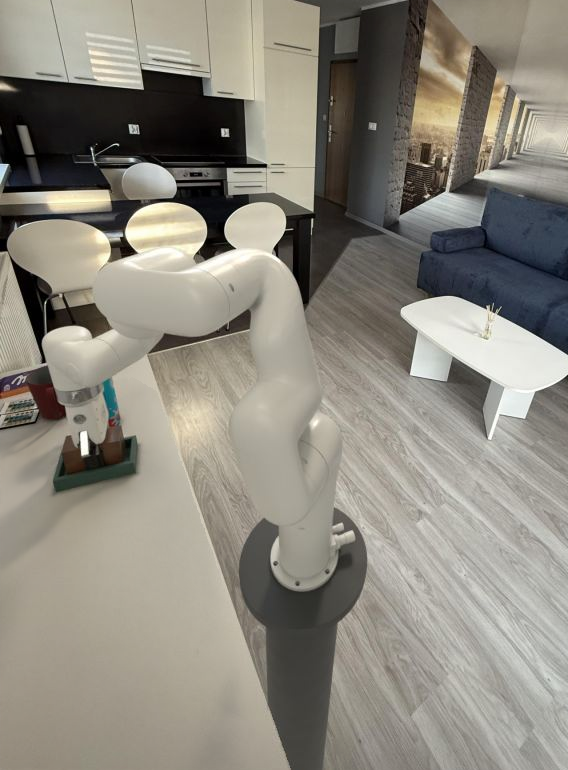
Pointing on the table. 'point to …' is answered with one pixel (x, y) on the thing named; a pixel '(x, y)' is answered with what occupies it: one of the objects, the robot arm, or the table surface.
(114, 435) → the walnut box
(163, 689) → the table surface
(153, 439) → the table surface
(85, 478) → the tray
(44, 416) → the mug
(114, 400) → the beverage can
